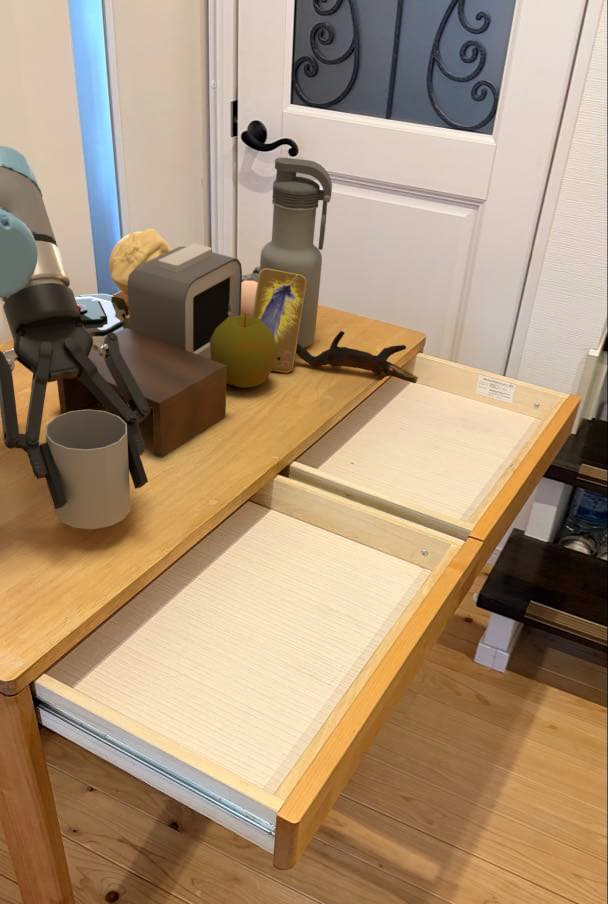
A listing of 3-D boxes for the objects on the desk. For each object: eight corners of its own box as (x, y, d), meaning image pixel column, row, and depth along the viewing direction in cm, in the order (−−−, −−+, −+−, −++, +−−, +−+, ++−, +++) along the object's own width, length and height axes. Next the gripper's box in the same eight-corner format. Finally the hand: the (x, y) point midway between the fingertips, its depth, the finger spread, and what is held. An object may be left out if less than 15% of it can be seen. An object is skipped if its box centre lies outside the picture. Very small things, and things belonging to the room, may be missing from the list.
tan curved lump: (157, 320, 144) (116, 281, 135) (124, 298, 151) (84, 259, 142) (198, 269, 143) (160, 227, 135) (164, 250, 151) (125, 208, 142)
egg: (266, 280, 144) (284, 315, 142) (238, 303, 147) (255, 338, 144) (246, 266, 138) (265, 302, 136) (217, 290, 141) (235, 326, 138)
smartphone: (259, 266, 125) (259, 267, 126) (244, 365, 127) (244, 366, 128) (308, 275, 126) (307, 276, 127) (292, 374, 128) (292, 374, 129)
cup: (56, 486, 94) (48, 409, 88) (129, 484, 96) (126, 409, 90) (52, 530, 88) (43, 451, 82) (131, 527, 90) (127, 449, 84)
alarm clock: (184, 377, 124) (183, 276, 115) (123, 357, 128) (117, 258, 118) (239, 340, 136) (242, 246, 127) (182, 323, 140) (181, 230, 130)
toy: (428, 347, 127) (422, 370, 124) (415, 380, 133) (409, 402, 131) (290, 301, 127) (281, 322, 125) (283, 336, 134) (274, 357, 131)
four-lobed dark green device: (121, 306, 144) (119, 280, 141) (144, 350, 131) (143, 323, 128) (14, 313, 138) (10, 286, 135) (27, 360, 125) (23, 332, 122)
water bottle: (318, 330, 142) (335, 157, 125) (314, 355, 134) (332, 174, 117) (259, 324, 142) (268, 150, 125) (253, 348, 134) (261, 166, 117)
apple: (196, 380, 124) (196, 310, 117) (241, 362, 130) (244, 295, 123) (243, 404, 119) (245, 333, 112) (288, 384, 125) (293, 316, 118)
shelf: (161, 457, 107) (159, 403, 102) (60, 413, 113) (54, 360, 109) (225, 416, 116) (226, 365, 111) (129, 378, 123) (126, 327, 118)
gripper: (120, 298, 96) (181, 480, 96) (-69, 323, 86) (-2, 527, 86) (137, 268, 90) (202, 464, 89) (-65, 292, 80) (7, 513, 79)
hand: (102, 494), depth 88 cm, fingers closed on cup, 8 cm apart
